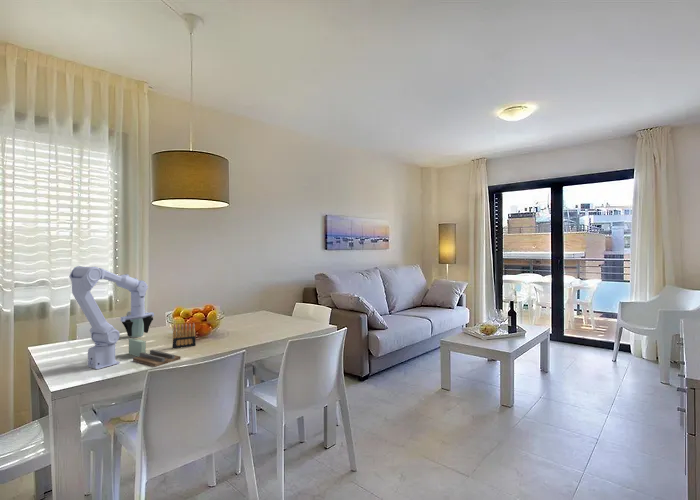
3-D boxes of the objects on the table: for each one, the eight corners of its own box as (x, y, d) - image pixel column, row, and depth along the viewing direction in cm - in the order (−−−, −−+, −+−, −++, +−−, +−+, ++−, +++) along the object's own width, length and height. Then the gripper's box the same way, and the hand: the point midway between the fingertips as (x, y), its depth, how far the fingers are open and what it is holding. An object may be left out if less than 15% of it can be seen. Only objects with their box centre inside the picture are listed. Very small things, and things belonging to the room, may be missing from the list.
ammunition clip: (172, 348, 182) (172, 324, 181) (172, 347, 183) (172, 324, 183) (195, 345, 187) (195, 322, 187) (195, 345, 189) (195, 322, 188)
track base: (155, 366, 155) (155, 360, 155) (133, 360, 162) (133, 354, 162) (180, 359, 165) (180, 353, 165) (158, 353, 173) (158, 348, 173)
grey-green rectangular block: (141, 357, 168) (141, 342, 167) (128, 354, 172) (128, 339, 172) (145, 356, 169) (145, 341, 169) (132, 352, 174) (133, 338, 174)
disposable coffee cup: (124, 336, 205) (124, 309, 204) (145, 333, 212) (146, 307, 211) (127, 340, 197) (127, 312, 196) (149, 336, 203) (150, 310, 203)
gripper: (148, 302, 180) (148, 329, 180) (117, 306, 167) (117, 336, 167) (156, 304, 176) (156, 331, 176) (125, 308, 164) (125, 338, 164)
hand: (137, 334), depth 172 cm, fingers open, 7 cm apart
